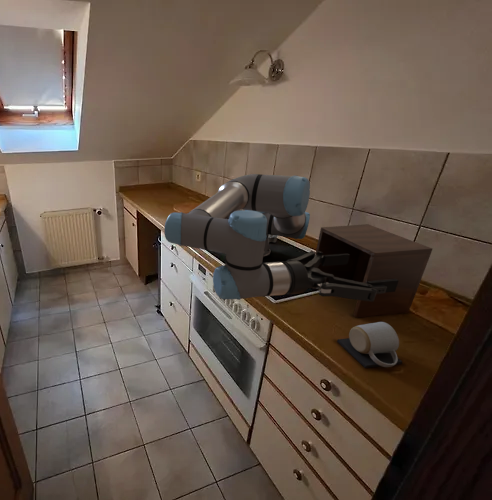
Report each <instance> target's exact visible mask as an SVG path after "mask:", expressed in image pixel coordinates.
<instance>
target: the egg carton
mask: <svg viewBox="0 0 492 500" xmlns="http://www.w3.org/2000/svg"><path fill="white" fill-rule="evenodd" d="M278 237H279V236H276V235H268V241H269V243H277V240H278Z"/></svg>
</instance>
